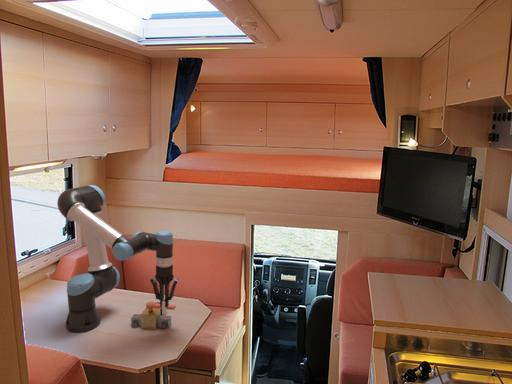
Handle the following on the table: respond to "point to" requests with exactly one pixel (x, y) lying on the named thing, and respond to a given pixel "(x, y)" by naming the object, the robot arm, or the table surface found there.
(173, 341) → the table surface
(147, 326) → the valve
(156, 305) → the lever
